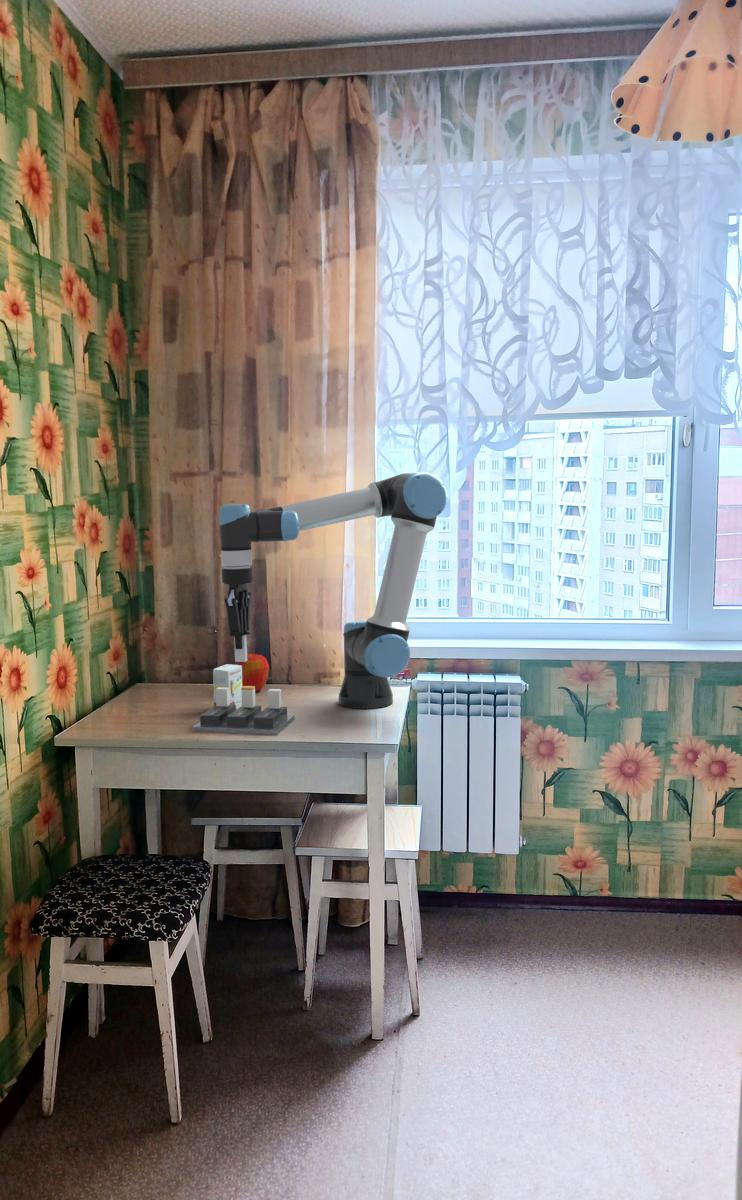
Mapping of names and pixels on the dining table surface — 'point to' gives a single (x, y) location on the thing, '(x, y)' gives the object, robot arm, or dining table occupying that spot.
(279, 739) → the dining table surface
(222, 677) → the ink box
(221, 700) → the handle
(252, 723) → the panel
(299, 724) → the dining table surface
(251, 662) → the apple
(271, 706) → the handle
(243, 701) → the handle mid
